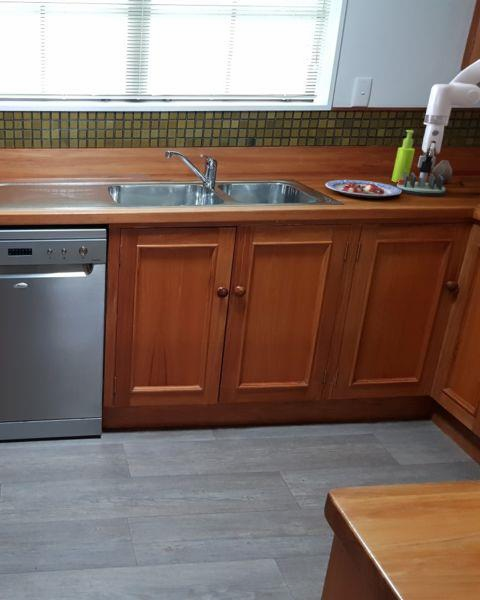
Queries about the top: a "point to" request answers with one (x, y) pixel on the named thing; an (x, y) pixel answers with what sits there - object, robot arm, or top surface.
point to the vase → (443, 171)
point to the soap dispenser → (404, 158)
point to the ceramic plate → (363, 188)
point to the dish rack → (422, 181)
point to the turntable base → (423, 193)
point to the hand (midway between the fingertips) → (424, 171)
